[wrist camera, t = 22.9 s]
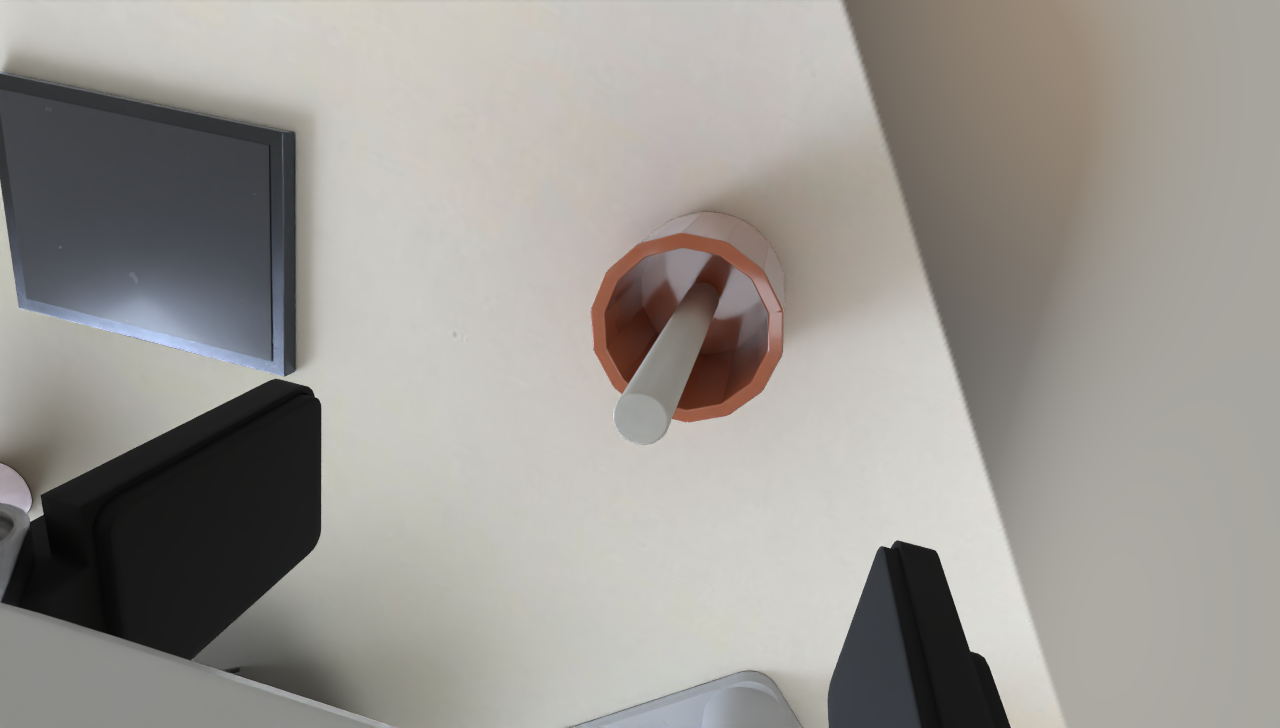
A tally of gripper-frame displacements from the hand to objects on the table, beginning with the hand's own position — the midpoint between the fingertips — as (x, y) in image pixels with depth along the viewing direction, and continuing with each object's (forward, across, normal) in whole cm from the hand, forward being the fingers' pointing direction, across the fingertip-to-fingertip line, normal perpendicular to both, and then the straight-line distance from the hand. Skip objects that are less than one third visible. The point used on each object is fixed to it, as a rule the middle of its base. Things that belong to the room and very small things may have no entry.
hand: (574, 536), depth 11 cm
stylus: (+20, 0, +1) cm, 20 cm away
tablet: (+20, +28, +4) cm, 35 cm away
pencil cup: (+20, 0, +1) cm, 20 cm away
